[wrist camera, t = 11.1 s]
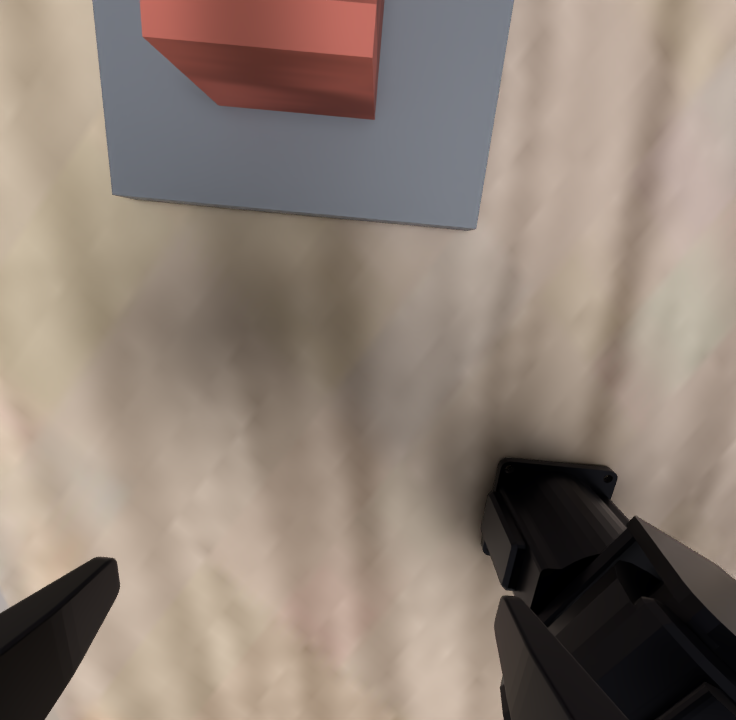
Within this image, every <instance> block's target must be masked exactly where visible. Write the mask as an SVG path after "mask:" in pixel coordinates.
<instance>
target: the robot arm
mask: <svg viewBox="0 0 736 720" xmlns="http://www.w3.org/2000/svg"><path fill="white" fill-rule="evenodd" d="M509 465H511V468H510V469H505V468H506V467H507V466H509ZM606 475H608V477H606V478H604V477H605V476H606ZM616 482H617V474H616V473H615V472H614V471H613V470H612V469H610V468H608V467H602V466H591V465H581V464H570V463H560V462H549V461H539V460H528V459H518V458H504V459H502V460H501V461H500V462H499V464H498V469H497V473H496V478H495V482H494V487H493V491H491V492H490V493H489V494H488V496H487V501H486V506H485V510H484V515H483V520H482V524H481V531H482V534H483V537H482V541H481V547H482V549H483V552H484V553H485V554H486V555H489V556H491V559H492V561H493V564H494V567H495V570H496V572H497V575H498V578H499V581H500V583H501V585H502V587H503V588H504V589H505V590H509V591H513V594H514V596H502V597H501V599H500V602H499V606H498V610H497V614H496V618H495V623H494V629H495V636H496V642H497V647H498V653H499V658H500V663H501V669H502V674H503V676H502V681H501V686H500V691H501V701H502V710H503V717H504V720H736V580H734V579H733V578H732V577H731V576H730V575H729V574H727V573H726V572H725V571H724V570H723V569H722V568H720V567H719V566H718V565H716V564H715V563H713V562H712V561H710V560H708V559H707V558H705V557H703V556H702V555H700V554H698V553H697V552H695V551H693V550H692V549H690V548H688V547H687V546H685V545H684V544H682V543H680V542H679V541H677V540H675V539H674V538H672V537H670V536H669V535H667V534H665V533H664V532H662V531H660V530H659V529H657V528H655V527H654V526H652V525H650V524H649V523H647V522H645V521H644V520H642V519H641V518H639V517H637V516H634V517H633V518H632V519H631V520H629V519H628V518H627V517H626V516H625V515H624V514H623V513H622V512H621V511H620V510H619V509H618V507H617V506H616V505H615V504H614V503H613V502H612V501H611V497H612V494H613V491H614V488H615V485H616ZM119 589H120V581H119V573H118V566H117V561H116V560H115V559H114V558H108V557H96V558H93V559H91V560H90V561H88V562H86V563H85V564H83V565H81V566H79V567H78V568H76V569H74V570H73V571H71V572H69V573H68V574H66V575H64V576H63V577H61V578H59V579H57V580H56V581H54V582H52V583H51V584H49V585H47V586H46V587H44V588H42V589H41V590H39V591H37V592H35V593H34V594H32V595H30V596H29V597H27V598H25V599H24V600H22V601H20V602H19V603H17V604H15V605H13V606H12V607H10V608H8V609H7V610H5V611H3V612H2V613H0V720H45V718H46V717H47V715H48V714H49V712H50V711H51V709H52V708H53V706H54V705H55V703H56V702H57V700H58V698H59V697H60V695H61V694H62V692H63V691H64V689H65V688H66V686H67V685H68V683H69V681H70V680H71V678H72V677H73V675H74V673H75V672H76V670H77V668H78V667H79V665H80V663H81V661H82V660H83V658H84V656H85V654H86V652H87V650H88V649H89V647H90V645H91V643H92V641H93V639H94V638H95V636H96V634H97V632H98V630H99V628H100V627H101V625H102V623H103V621H104V619H105V618H106V616H107V614H108V612H109V610H110V608H111V607H112V605H113V603H114V601H115V599H116V597H117V595H118V593H119Z"/></svg>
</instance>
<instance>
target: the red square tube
mask: <svg viewBox="0 0 736 720" xmlns="http://www.w3.org/2000/svg"><path fill="white" fill-rule="evenodd" d="M384 1H385V0H140V11H141V25H142V37H143V38H144V39H146V40H147V41H148V42H149V43H150V44H151V45H152V46H153V47H154V48H156V49H157V50H158V51H159V52H160V53H161V54H162V55H163V56H164V57H165V58H167V59H168V60H169V61H170V62H171V63H172V64H173V65H174V66H175V67H177V68H178V69H179V70H180V71H181V72H182V73H183V74H184V75H185V76H186V77H188V78H189V79H190V80H191V81H192V82H193V83H194V84H195V85H196V86H198V87H199V88H200V89H201V90H202V91H203V92H204V93H205V94H206V95H207V96H209V97H210V98H211V99H212V100H213V101H214V102H215V103H216V104H217V105H219V106H229V107H240V108H251V109H261V110H272V111H283V112H294V113H305V114H315V115H326V116H337V117H348V118H359V119H370V120H375V110H376V97H377V85H378V73H379V61H380V49H381V37H382V25H383V13H384Z"/></svg>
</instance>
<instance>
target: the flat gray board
mask: <svg viewBox="0 0 736 720" xmlns="http://www.w3.org/2000/svg"><path fill="white" fill-rule="evenodd" d="M92 1H93V11H94V20H95V30H96V40H97V49H98V59H99V69H100V78H101V88H102V98H103V108H104V117H105V127H106V137H107V146H108V156H109V166H110V176H111V185H112V195H116V196H121V197H126V198H131V199H136V200H147V201H158V202H168V203H179V204H190V205H200V206H211V207H222V208H232V209H243V210H254V211H264V212H275V213H286V214H296V215H307V216H318V217H328V218H339V219H350V220H360V221H371V222H382V223H392V224H403V225H414V226H424V227H435V228H446V229H456V230H467V231H469V230H473V229H476V227H477V220H478V214H479V208H480V202H481V196H482V190H483V184H484V178H485V172H486V166H487V160H488V154H489V148H490V142H491V136H492V130H493V124H494V118H495V112H496V106H497V100H498V94H499V88H500V81H501V75H502V69H503V63H504V57H505V51H506V45H507V39H508V33H509V27H510V21H511V15H512V9H513V3H514V0H385V1H384V13H383V25H382V37H381V49H380V61H379V73H378V85H377V97H376V110H375V120H370V119H359V118H348V117H337V116H326V115H315V114H305V113H294V112H283V111H272V110H261V109H251V108H240V107H229V106H219V105H217V104H216V103H215V102H214V101H213V100H212V99H211V98H210V97H209V96H207V95H206V94H205V93H204V92H203V91H202V90H201V89H200V88H199V87H198V86H196V85H195V84H194V83H193V82H192V81H191V80H190V79H189V78H188V77H186V76H185V75H184V74H183V73H182V72H181V71H180V70H179V69H178V68H177V67H175V66H174V65H173V64H172V63H171V62H170V61H169V60H168V59H167V58H165V57H164V56H163V55H162V54H161V53H160V52H159V51H158V50H157V49H156V48H154V47H153V46H152V45H151V44H150V43H149V42H148V41H147V40H146V39H144V38H143V37H142V25H141V11H140V0H92Z"/></svg>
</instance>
